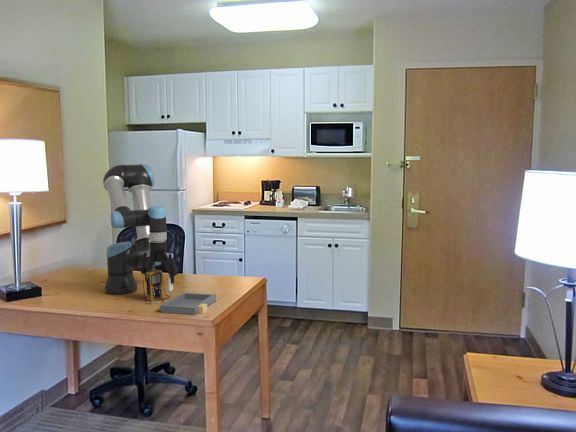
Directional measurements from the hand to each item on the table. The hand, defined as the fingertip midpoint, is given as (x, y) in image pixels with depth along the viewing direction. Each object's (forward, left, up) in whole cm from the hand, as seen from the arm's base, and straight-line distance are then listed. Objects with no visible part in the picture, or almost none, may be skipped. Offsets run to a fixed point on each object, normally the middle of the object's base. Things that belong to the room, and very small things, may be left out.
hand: (159, 289), depth 231 cm
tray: (+18, -6, -5) cm, 20 cm away
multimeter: (0, 0, -5) cm, 5 cm away
